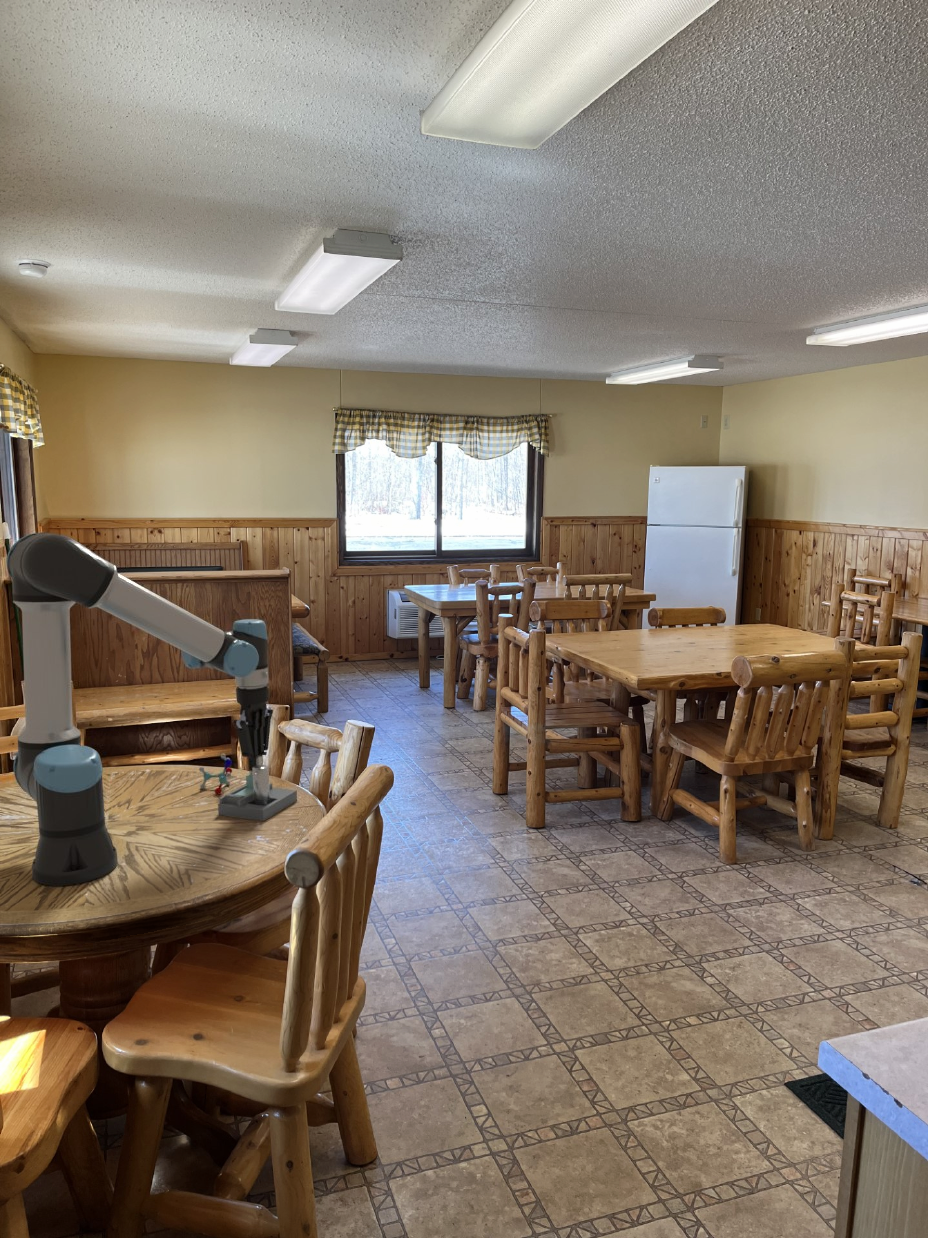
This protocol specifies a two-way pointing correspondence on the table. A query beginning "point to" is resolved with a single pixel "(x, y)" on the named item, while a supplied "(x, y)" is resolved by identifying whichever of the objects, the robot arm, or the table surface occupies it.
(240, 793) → the lid
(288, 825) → the table surface
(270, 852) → the table surface
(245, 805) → the housing
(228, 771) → the molecular model
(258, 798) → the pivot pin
